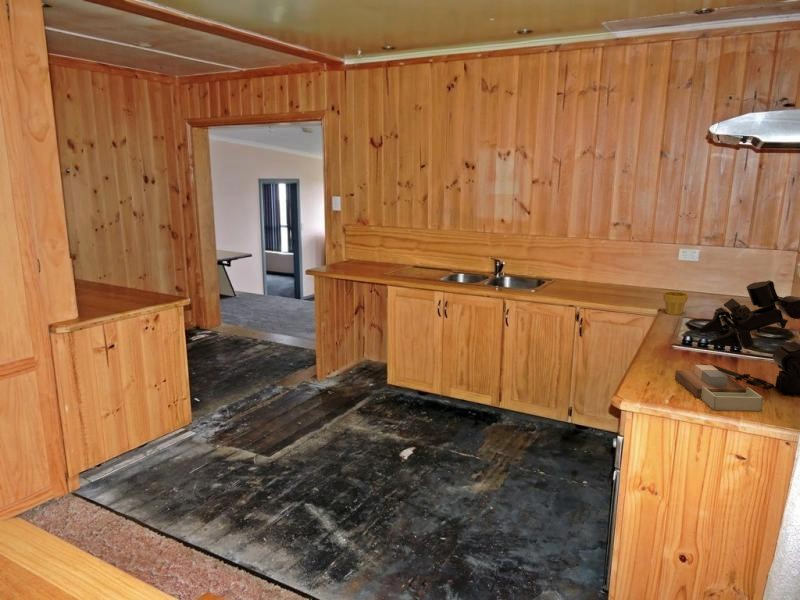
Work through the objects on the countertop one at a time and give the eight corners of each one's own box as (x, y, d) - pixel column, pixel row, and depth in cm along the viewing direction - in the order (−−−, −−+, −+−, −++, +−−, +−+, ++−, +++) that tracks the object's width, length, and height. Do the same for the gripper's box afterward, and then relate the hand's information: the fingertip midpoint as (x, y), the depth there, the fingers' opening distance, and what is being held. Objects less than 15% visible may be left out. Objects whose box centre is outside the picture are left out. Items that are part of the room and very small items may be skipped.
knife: (695, 365, 194) (696, 362, 193) (710, 363, 195) (710, 359, 195) (761, 391, 170) (761, 387, 170) (777, 388, 172) (777, 384, 172)
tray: (746, 399, 163) (748, 387, 162) (761, 411, 155) (763, 397, 154) (700, 399, 164) (702, 386, 163) (713, 410, 156) (715, 397, 155)
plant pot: (665, 315, 259) (667, 295, 257) (658, 310, 269) (660, 291, 267) (689, 316, 258) (691, 296, 255) (681, 311, 268) (683, 291, 265)
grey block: (718, 380, 170) (719, 370, 170) (726, 386, 166) (727, 376, 165) (701, 379, 171) (702, 370, 170) (709, 385, 166) (710, 376, 165)
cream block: (710, 373, 176) (711, 365, 175) (717, 379, 171) (718, 370, 170) (694, 373, 176) (695, 364, 176) (701, 379, 171) (702, 370, 171)
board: (719, 379, 179) (720, 370, 178) (745, 399, 163) (746, 389, 163) (674, 378, 180) (675, 370, 180) (696, 398, 165) (697, 388, 164)
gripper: (737, 285, 172) (686, 303, 176) (765, 307, 155) (707, 326, 159) (747, 316, 175) (696, 333, 179) (775, 340, 157) (718, 358, 162)
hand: (704, 337), depth 170 cm, fingers open, 9 cm apart
